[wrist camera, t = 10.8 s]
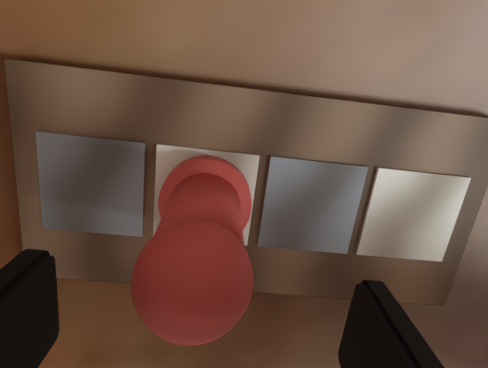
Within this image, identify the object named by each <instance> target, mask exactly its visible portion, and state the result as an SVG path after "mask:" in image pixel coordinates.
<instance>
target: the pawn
mask: <svg viewBox="0 0 488 368" xmlns="http://www.w3.org/2000/svg"><path fill="white" fill-rule="evenodd" d="M158 209H159V214H160V217H161V220H160V223H159V225H158V227H157V230H156V232H155V234H154V236H153V237H152V238H151V239H150V240H149V241H148V242H147V243H146V244H145V245H144V247H143V249H142V250H141V252H140V253H139V255H138V257H137V260H136V262H135V265H134V268H133V272H132V281H131V290H132V298H133V302H134V305H135V307H136V310H137V313H138V314H139V316H140V318H141V319H142V321H143V322H144V323H145V325H146V326H147V327H148V328H149V329H150V330H151V331H152V332H153V333H155V334H156V335H157V336H159V337H161V338H162V339H164V340H166V341H169V342H171V343H175V344H179V345H200V344H205V343H208V342H211V341H214V340H216V339H218V338H220V337H222V336H223V335H225V334H226V333H227V332H229V331H230V330H231V329H232V328H233V327H234V326H235V325H236V324H237V323H238V322H239V320H240V319H241V318H242V316H243V315H244V313H245V311H246V310H247V307H248V305H249V302H250V300H251V296H252V291H253V282H254V279H253V269H252V264H251V260H250V258H249V255H248V253H247V251H246V249H245V247H244V237H243V229H244V228H245V227H246V225H247V223H248V221H249V218H250V215H251V210H252V201H251V195H250V190H249V186H248V183H247V180H246V179H245V177H244V175H243V174H242V172H241V171H240V170H239V169H238V168H237V167H236V166H235V165H233V164H232V163H230V162H229V161H227V160H225V159H222V158H219V157H216V156H208V155H203V156H196V157H192V158H189V159H186V160H185V161H183V162H181V163H180V164H178V165H177V166H176V167H175V168H174V169H173V170H172V171H171V172H170V173H169V175H168V177H167V178H166V180H165V182H164V184H163V186H162V188H161V190H160V194H159V199H158Z"/></svg>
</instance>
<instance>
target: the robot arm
mask: <svg viewBox="0 0 488 368" xmlns="http://www.w3.org/2000/svg"><path fill="white" fill-rule="evenodd" d="M58 334H59V315H58V298H57V281H56V265H55V258H54V256H50V253H49V251H47V250H38V249H25V250H23V251H22V252H21V253H20V254H18V255H17V256H16V257H15V258H14V259H12V260H11V261H10V262H9V263H8V264H6V265H5V266H4V267H3V268H2V269H0V368H38V367H39V365H40V364H41V362H42V361H43V359H44V358H45V356H46V355H47V353H48V352H49V350H50V349H51V347H52V346H53V344H54V343H55V341H56V339H57V337H58ZM338 356H339V363H340V366H341V368H444V367H443V365H442V364H441V362H440V361H439V360H438V358H437V357H436V355H435V354H434V353H433V351H432V350H431V348H430V347H429V346H428V344H427V343H426V341H425V340H424V338H423V337H422V336H421V334H420V333H419V331H418V330H417V329H416V327H415V326H414V324H413V323H412V322H411V320H410V319H409V317H408V316H407V315H406V313H405V312H404V310H403V309H402V308H401V306H400V305H399V303H398V302H397V300H396V299H395V298H394V296H393V295H392V293H391V292H390V291H389V289H388V288H387V286H386V285H385V284H384V283H383V282H382V281H376V280H365V279H364V280H362V282H361V284H357V285H356V286H355V289H354V293H353V297H352V301H351V305H350V309H349V313H348V316H347V320H346V324H345V328H344V332H343V336H342V340H341V344H340V347H339V353H338Z"/></svg>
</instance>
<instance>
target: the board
mask: <svg viewBox="0 0 488 368" xmlns="http://www.w3.org/2000/svg"><path fill="white" fill-rule="evenodd" d="M4 65H5V76H6V86H7V96H8V106H9V116H10V126H11V136H12V147H13V157H14V167H15V177H16V187H17V197H18V207H19V218H20V228H21V238H22V248H23V250H25V249H38V250H47V251H49V253H50V256H54V258H55V265H56V278H62V279H76V280H90V281H104V282H118V283H131V281H132V272H133V268H134V265H135V262H136V260H137V257H138V255H139V253H140V252H141V250H142V249H143V247H144V245H145V244H146V243H147V242H148V241H149V240H150V239H151V238H152V237H153V236H154V234H155V232H156V230H157V227H158V225H159V223H160V220H161V217H160V214H159V209H158V199H159V194H160V190H161V188H162V186H163V184H164V182H165V180H166V178H167V177H168V175H169V173H170V172H171V171H172V170H173V169H174V168H175V167H176V166H177V165H178V164H180V163H181V162H183V161H185V160H186V159H189V158H192V157H196V156H203V155H208V156H216V157H219V158H222V159H225V160H227V161H229V162H230V163H232V164H233V165H235V166H236V167H237V168H238V169H239V170H240V171H241V172H242V174H243V175H244V177H245V179H246V180H247V183H248V186H249V190H250V195H251V201H252V210H251V215H250V218H249V221H248V223H247V225H246V227H245V228H244V229H243V237H244V247H245V249H246V251H247V253H248V255H249V258H250V260H251V264H252V269H253V279H254V282H253V291H252V292H258V293H272V294H286V295H300V296H314V297H328V298H342V299H352V297H353V293H354V289H355V286H356V285H357V284H361V282H362V280H364V279H365V280H376V281H382V282H383V283H384V284H385V285H386V286H387V288H388V289H389V291H390V292H391V293H392V295H393V296H394V298H395V299H396V300H397V302H398V303H412V304H426V305H440V306H444V303H445V300H446V298H447V295H448V292H449V289H450V287H451V284H452V281H453V279H454V276H455V273H456V270H457V268H458V265H459V262H460V260H461V257H462V254H463V251H464V249H465V246H466V243H467V241H468V238H469V235H470V232H471V230H472V227H473V224H474V222H475V219H476V216H477V213H478V211H479V208H480V205H481V203H482V200H483V197H484V194H485V192H486V189H487V186H488V117H481V116H473V115H465V114H457V113H449V112H441V111H432V110H424V109H416V108H408V107H400V106H392V105H384V104H375V103H367V102H359V101H351V100H343V99H335V98H327V97H318V96H310V95H302V94H294V93H286V92H278V91H270V90H262V89H253V88H245V87H237V86H229V85H221V84H213V83H205V82H196V81H188V80H180V79H172V78H164V77H156V76H148V75H139V74H131V73H123V72H115V71H107V70H99V69H91V68H82V67H74V66H66V65H58V64H50V63H42V62H34V61H26V60H15V59H4Z"/></svg>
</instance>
